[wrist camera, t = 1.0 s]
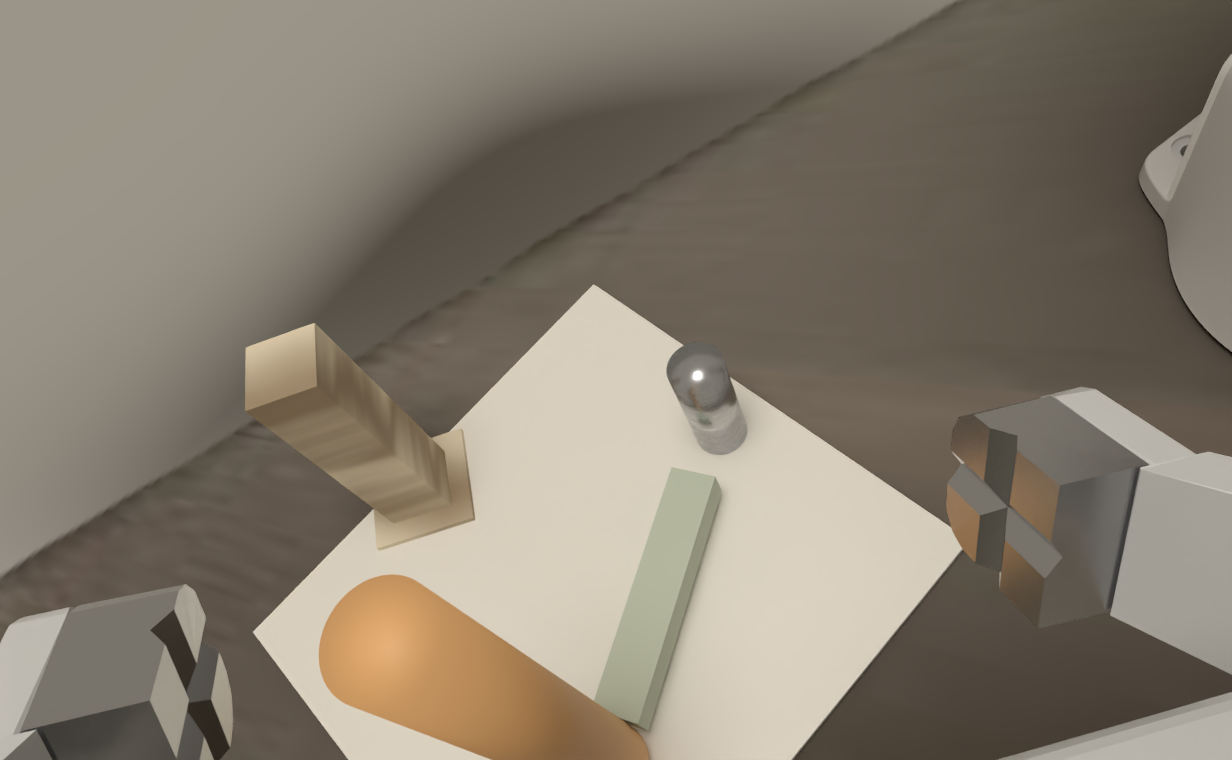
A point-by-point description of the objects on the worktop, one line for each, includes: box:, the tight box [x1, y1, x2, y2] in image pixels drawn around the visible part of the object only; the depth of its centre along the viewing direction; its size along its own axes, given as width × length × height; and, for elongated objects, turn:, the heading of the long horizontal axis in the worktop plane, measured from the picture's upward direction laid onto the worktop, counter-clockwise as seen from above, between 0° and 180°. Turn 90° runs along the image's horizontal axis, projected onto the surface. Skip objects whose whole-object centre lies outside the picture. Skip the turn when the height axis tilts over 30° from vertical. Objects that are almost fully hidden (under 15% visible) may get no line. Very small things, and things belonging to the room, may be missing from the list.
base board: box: [253, 285, 963, 760], centre depth 42 cm, size 24×22×1 cm
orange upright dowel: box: [319, 467, 722, 760], centre depth 31 cm, size 14×3×19 cm, turn 161°
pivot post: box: [666, 342, 747, 455], centre depth 41 cm, size 2×2×6 cm
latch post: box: [245, 323, 475, 551], centre depth 41 cm, size 5×5×13 cm
